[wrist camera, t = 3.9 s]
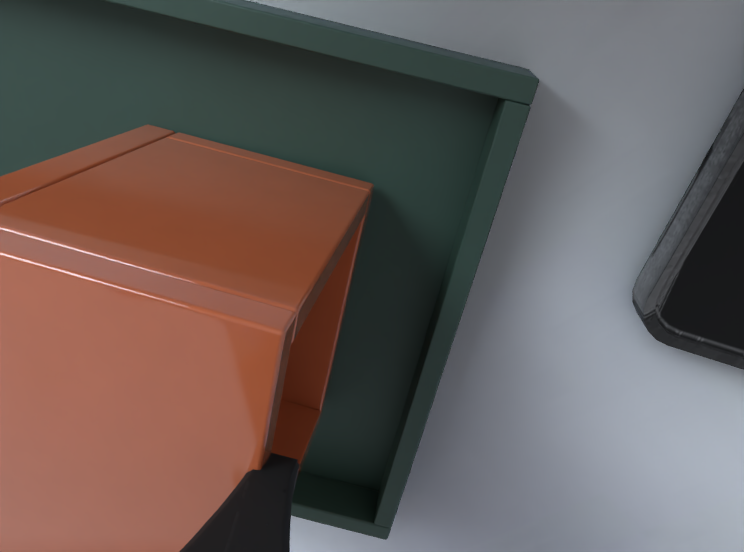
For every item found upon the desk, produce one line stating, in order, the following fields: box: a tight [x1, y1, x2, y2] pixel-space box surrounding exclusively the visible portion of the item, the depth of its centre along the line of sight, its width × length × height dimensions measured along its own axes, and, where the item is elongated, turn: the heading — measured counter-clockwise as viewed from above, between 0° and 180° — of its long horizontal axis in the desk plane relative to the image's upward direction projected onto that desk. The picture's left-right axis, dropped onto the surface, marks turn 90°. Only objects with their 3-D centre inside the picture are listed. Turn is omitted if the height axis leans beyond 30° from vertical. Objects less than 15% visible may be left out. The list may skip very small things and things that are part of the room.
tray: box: [0, 0, 539, 540], centre depth 17 cm, size 15×21×2 cm
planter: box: [0, 124, 374, 552], centre depth 14 cm, size 6×8×8 cm
